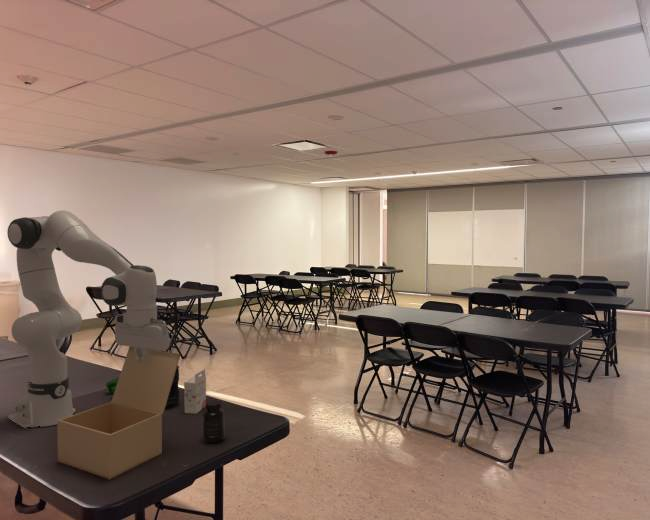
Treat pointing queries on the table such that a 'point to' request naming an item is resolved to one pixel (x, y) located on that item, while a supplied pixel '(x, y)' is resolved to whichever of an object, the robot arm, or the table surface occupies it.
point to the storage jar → (173, 392)
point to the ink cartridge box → (195, 393)
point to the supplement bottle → (213, 422)
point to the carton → (109, 439)
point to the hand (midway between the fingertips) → (142, 361)
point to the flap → (146, 380)
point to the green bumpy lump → (112, 386)
